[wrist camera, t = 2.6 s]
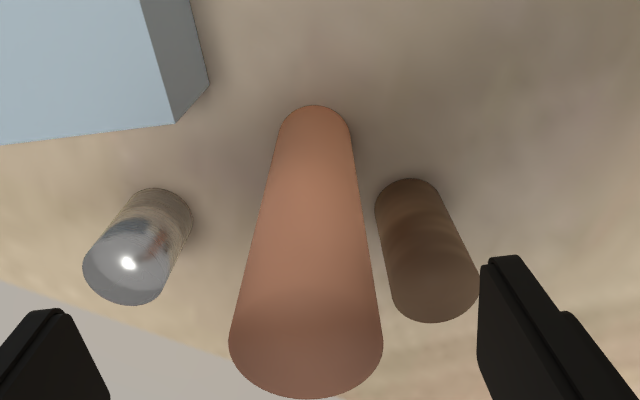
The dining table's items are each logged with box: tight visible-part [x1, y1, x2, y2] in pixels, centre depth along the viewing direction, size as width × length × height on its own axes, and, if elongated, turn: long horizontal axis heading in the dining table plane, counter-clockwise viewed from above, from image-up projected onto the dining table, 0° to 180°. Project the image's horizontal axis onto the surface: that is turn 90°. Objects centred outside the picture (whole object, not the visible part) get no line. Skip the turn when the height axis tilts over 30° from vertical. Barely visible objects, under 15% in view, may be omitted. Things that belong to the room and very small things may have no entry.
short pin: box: [82, 188, 193, 306], centre depth 20 cm, size 3×3×4 cm
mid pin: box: [374, 179, 480, 323], centre depth 19 cm, size 3×3×6 cm
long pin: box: [228, 105, 383, 399], centre depth 15 cm, size 3×3×12 cm
